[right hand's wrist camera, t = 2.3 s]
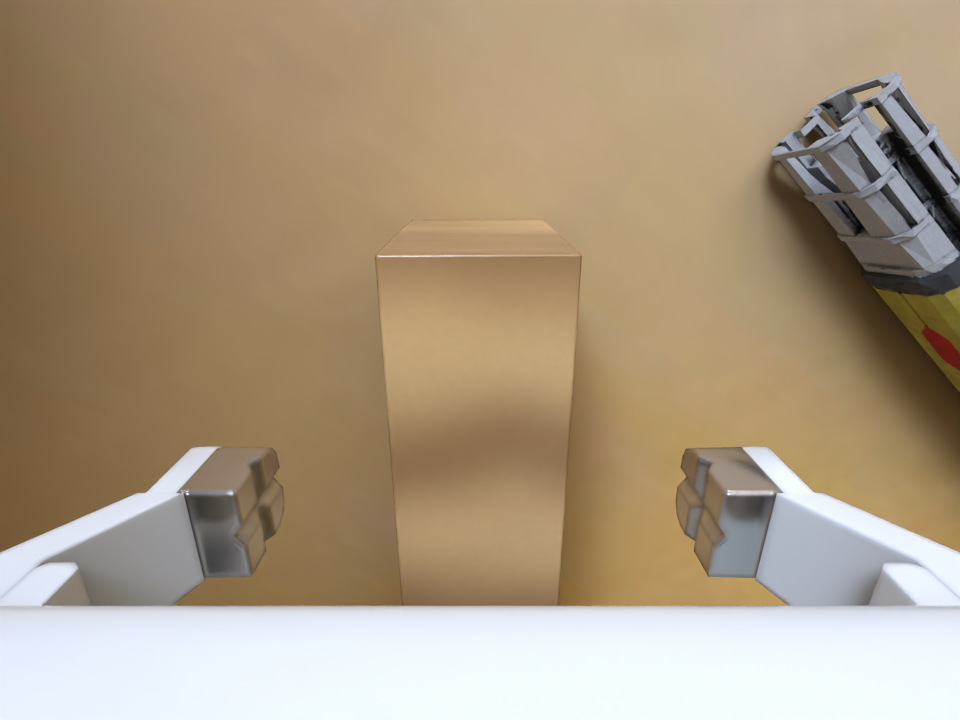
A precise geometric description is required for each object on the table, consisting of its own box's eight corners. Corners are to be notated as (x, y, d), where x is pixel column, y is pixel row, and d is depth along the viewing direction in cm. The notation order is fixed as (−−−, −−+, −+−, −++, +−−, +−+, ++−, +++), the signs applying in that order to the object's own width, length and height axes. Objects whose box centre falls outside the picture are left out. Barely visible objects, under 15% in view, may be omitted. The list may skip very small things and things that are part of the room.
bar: (410, 219, 22) (373, 254, 14) (544, 219, 22) (582, 253, 14) (432, 654, 32) (418, 821, 24) (526, 653, 32) (544, 819, 24)
